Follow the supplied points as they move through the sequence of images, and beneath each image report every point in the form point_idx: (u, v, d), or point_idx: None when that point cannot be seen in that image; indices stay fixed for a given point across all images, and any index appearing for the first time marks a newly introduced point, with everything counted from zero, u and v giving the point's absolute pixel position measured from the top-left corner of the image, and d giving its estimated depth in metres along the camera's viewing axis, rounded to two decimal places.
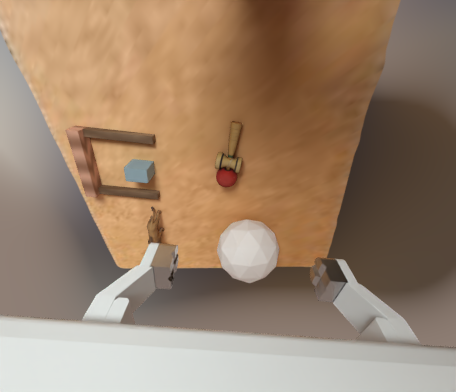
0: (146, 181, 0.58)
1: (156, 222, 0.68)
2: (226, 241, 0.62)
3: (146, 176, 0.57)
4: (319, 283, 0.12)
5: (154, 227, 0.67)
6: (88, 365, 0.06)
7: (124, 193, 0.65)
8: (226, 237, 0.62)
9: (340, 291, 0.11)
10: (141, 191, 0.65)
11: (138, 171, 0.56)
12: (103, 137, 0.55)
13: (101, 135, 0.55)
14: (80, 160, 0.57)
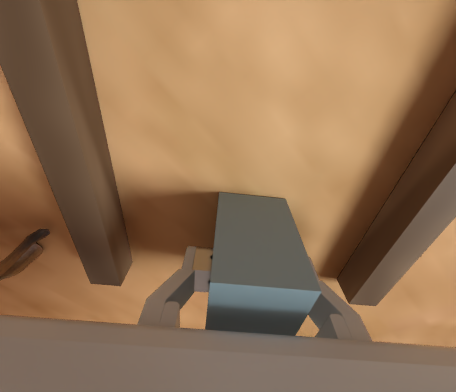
0: None
1: None
2: None
3: None
4: None
5: None
6: (88, 365, 0.06)
7: (53, 134, 0.09)
8: None
9: None
10: (111, 221, 0.12)
11: None
12: None
13: None
14: None
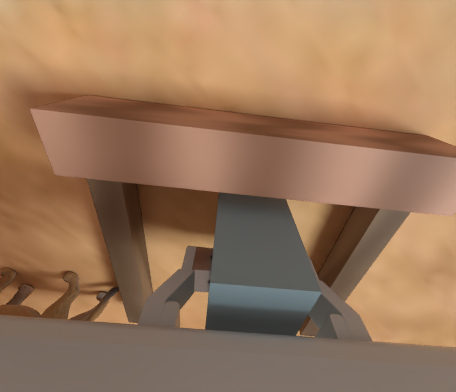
0: None
1: None
2: None
3: None
4: None
5: None
6: (88, 365, 0.06)
7: (122, 254, 0.16)
8: None
9: None
10: (145, 287, 0.19)
11: None
12: (358, 251, 0.15)
13: (369, 248, 0.15)
14: (308, 173, 0.10)
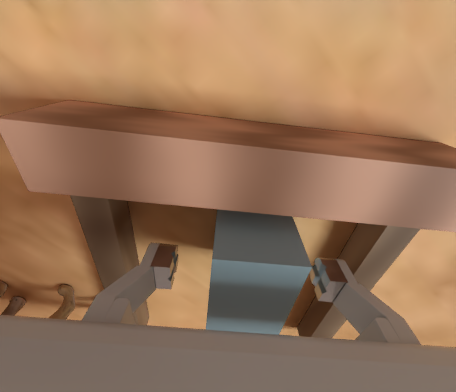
0: (214, 329, 0.11)
1: None
2: None
3: None
4: (319, 283, 0.12)
5: None
6: (88, 365, 0.06)
7: (111, 270, 0.15)
8: None
9: (340, 291, 0.11)
10: None
11: (275, 317, 0.10)
12: (365, 266, 0.14)
13: (377, 262, 0.14)
14: (313, 189, 0.09)
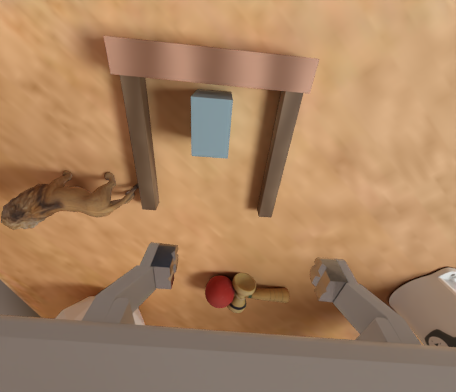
0: (196, 152, 0.23)
1: (111, 211, 0.29)
2: None
3: (210, 155, 0.23)
4: (319, 283, 0.12)
5: (98, 216, 0.27)
6: (88, 365, 0.06)
7: (139, 144, 0.26)
8: None
9: (340, 291, 0.11)
10: (153, 178, 0.30)
11: (223, 139, 0.22)
12: (279, 135, 0.26)
13: (284, 132, 0.26)
14: (233, 68, 0.20)
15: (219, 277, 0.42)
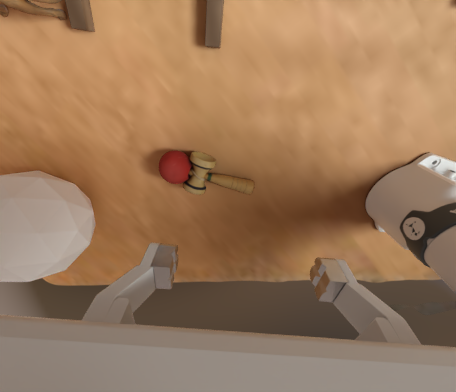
0: None
1: (28, 9, 0.25)
2: (36, 203, 0.32)
3: None
4: (319, 283, 0.12)
5: (8, 2, 0.24)
6: (88, 365, 0.06)
7: None
8: (43, 199, 0.33)
9: (340, 291, 0.11)
10: None
11: None
12: None
13: None
14: None
15: None
